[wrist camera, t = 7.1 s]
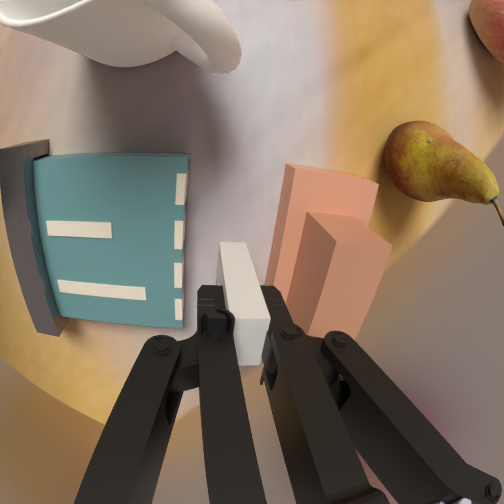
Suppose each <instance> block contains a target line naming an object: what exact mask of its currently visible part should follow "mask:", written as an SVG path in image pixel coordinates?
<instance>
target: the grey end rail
mask: <svg viewBox="0 0 504 504" xmlns="http://www.w3.org/2000/svg"><path fill="white" fill-rule="evenodd" d="M48 153H49V139H47V140H39V141H32V142H26V143H21V144H18V145H14V146H10V147H6V148H3V149H0V187H1V197H2V205H3V212H4V219H5V225H6V230H7V236H8V240H9V245H10V250H11V254H12V258H13V262H14V266H15V270H16V273H17V277H18V280H19V283H20V287H21V290H22V293H23V296H24V299H25V302H26V305H27V307H28V310H29V313H30V315H31V318H32V321H33V323H34V326H35V328H36V330H37V332H39V333H43V334H48V335H53V336H58V337H59V336H60V334H61V332H62V330H63V328H64V327H65V325H66V323H67V321H68V319H69V317H64V316H60V313H59V310H58V307H57V304H56V300H55V297H54V293H53V290H52V286H51V282H50V278H49V274H48V270H47V266H46V261H45V257H44V252H43V247H42V241H41V235H40V229H39V223H38V215H37V207H36V197H35V185H34V164H33V158H35V157H38V156H41V155H45V154H48Z"/></svg>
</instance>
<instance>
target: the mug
mask: <svg viewBox="0 0 504 504" xmlns="http://www.w3.org/2000/svg"><path fill="white" fill-rule="evenodd" d="M0 23H1V24H2V25H4V26H6V27H10V28H13V29H16V30H19V31H22V32H25V33H28V34H31V35H34V36H37V37H39V38H42V39H45V40H48V41H50V42H53V43H55V44H58V45H60V46H63V47H65V48H68V49H70V50H72V51H75V52H77V53H79V54H81V55H84V56H86V57H88V58H90V59H92V60H95V61H97V62H99V63H102V64H105V65H109V66H114V67H136V66H141V65H145V64H149V63H152V62H155V61H157V60H160V59H162V58H164V57H166V56H168V55H170V54H171V53H173V52H175V51H178V52H179V53H181V54H182V55H183V56H185V57H186V58H188V59H189V60H190V61H192V62H194V63H195V64H197V65H198V66H200V67H202V68H203V69H205V70H207V71H210V72H212V73H217V74H224V73H229V72H231V71H232V70H234V69H235V68H236V67H237V66H238V64H239V63H240V59H241V55H242V53H241V46H240V43H239V39H238V36H237V34H236V32H235V30H234V28H233V27H232V25H231V23H230V22H229V20H228V19H227V17H226V16H225V15H224V14H223V12H222V11H221V10H220V9H219V7H218V6H217V5H216V4H215V3H214V2H213V1H212V0H0Z"/></svg>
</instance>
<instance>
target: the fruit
mask: <svg viewBox="0 0 504 504" xmlns="http://www.w3.org/2000/svg"><path fill="white" fill-rule="evenodd" d="M385 165H386V169H387V172H388V174H389V176H390V178H391V180H392V181H393V183H394V184H395V185H396V186H397V187H398V188H399V189H400V190H401V191H402V192H403V193H404V194H406V195H407V196H409V197H411V198H413V199H416V200H419V201H424V202H433V201H438V200H443V199H449V198H455V199H462V200H465V201H468V202H472V203H483V204H486V205H488V204H491V203H493V204H494V205H495V207H496V210H497V211H498V214H499V216H500V219H501V221H502V224H503V226H504V217H503V214H502V211H501V209H500V207H499V204H498V201H497V196H498V195H499V188H498V184H497V182H496V179H495V176H494V175H493V174H492V172H491V171H490V169H489V168H488V167H487V166H486V165H485V164H484V163H483V162H482V161H481V160H480V159H479V158H477V157H476V156H475V155H474V154H473V153H472V152H470V151H469V150H468V149H467V148H465V147H464V146H462V145H461V144H459V143H458V142H456V141H455V140H454V139H453V138H452V136H451V135H450V134H449V133H448V132H446V131H445V130H444V129H442V128H441V127H439V126H438V125H435V124H433V123H430V122H426V121H412V122H407V123H403V124H401V125H399V126H397V127H396V128H394V130H393V131H392V132H391V133H390V135H389V137H388V140H387V142H386V146H385Z"/></svg>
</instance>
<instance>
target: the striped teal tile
mask: <svg viewBox="0 0 504 504" xmlns="http://www.w3.org/2000/svg"><path fill="white" fill-rule="evenodd" d="M189 160H190V154H183V153H154V152H112V153H84V154H68V155H55V156H45V157H35V158H33V164H34V185H35V197H36V207H37V215H38V223H39V229H40V235H41V241H42V247H43V252H44V257H45V261H46V266H47V270H48V274H49V278H50V282H51V286H52V290H53V293H54V297H55V300H56V304H57V307H58V310H59V313H60V316H64V317H71V318H78V319H85V320H92V321H100V322H109V323H118V324H128V325H139V326H151V327H166V328H183V317H184V245H185V219H186V200H187V185H188V172H189Z"/></svg>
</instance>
